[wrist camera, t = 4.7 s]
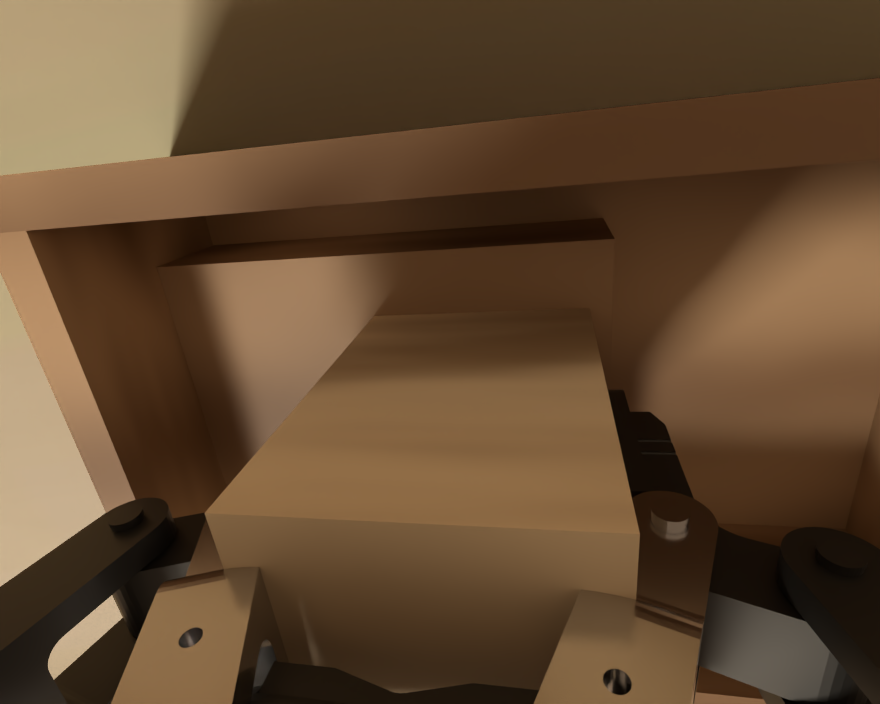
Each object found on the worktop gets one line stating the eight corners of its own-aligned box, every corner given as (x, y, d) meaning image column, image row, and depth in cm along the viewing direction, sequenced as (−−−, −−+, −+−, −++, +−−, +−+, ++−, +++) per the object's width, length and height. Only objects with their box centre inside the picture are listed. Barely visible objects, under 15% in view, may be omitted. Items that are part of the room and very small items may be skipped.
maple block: (373, 315, 13) (204, 512, 6) (589, 308, 12) (639, 533, 5) (401, 485, 15) (291, 764, 8) (587, 491, 14) (623, 814, 7)
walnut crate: (168, 157, 15) (-40, 180, 10) (1001, 64, 11) (1437, 15, 6) (271, 515, 20) (171, 660, 15) (867, 544, 16) (1028, 760, 11)
